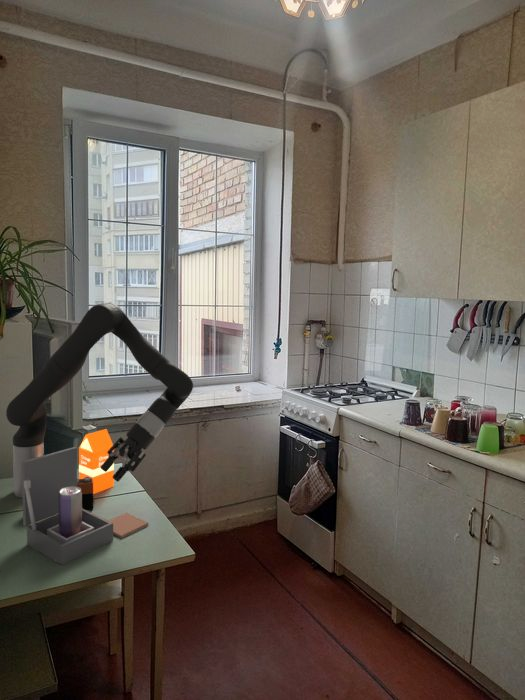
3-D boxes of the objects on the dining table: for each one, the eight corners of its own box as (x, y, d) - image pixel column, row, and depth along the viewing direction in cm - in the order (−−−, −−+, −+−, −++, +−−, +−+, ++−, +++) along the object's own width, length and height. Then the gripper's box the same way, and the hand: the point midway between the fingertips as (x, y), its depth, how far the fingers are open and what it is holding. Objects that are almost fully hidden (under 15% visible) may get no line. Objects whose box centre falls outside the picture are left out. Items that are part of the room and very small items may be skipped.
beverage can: (59, 549, 135) (58, 496, 133) (58, 538, 141) (58, 487, 139) (83, 545, 138) (82, 493, 136) (81, 535, 143) (81, 484, 141)
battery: (93, 510, 158) (93, 479, 157) (70, 513, 156) (70, 482, 154) (92, 504, 162) (92, 474, 161) (70, 506, 160) (69, 476, 158)
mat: (99, 527, 148) (99, 524, 148) (126, 515, 156) (126, 512, 156) (121, 538, 142) (121, 535, 142) (148, 525, 150) (148, 522, 150)
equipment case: (23, 542, 138) (20, 461, 135) (75, 520, 151) (74, 446, 148) (61, 565, 128) (59, 479, 125) (113, 540, 141) (113, 461, 138)
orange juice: (78, 488, 174) (78, 432, 171) (100, 480, 181) (99, 426, 178) (93, 494, 169) (92, 437, 167) (114, 486, 177) (114, 431, 174)
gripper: (127, 416, 153) (90, 460, 147) (149, 428, 142) (110, 476, 136) (143, 430, 157) (107, 473, 151) (165, 443, 146) (128, 490, 140)
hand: (108, 474), depth 144 cm, fingers open, 8 cm apart
